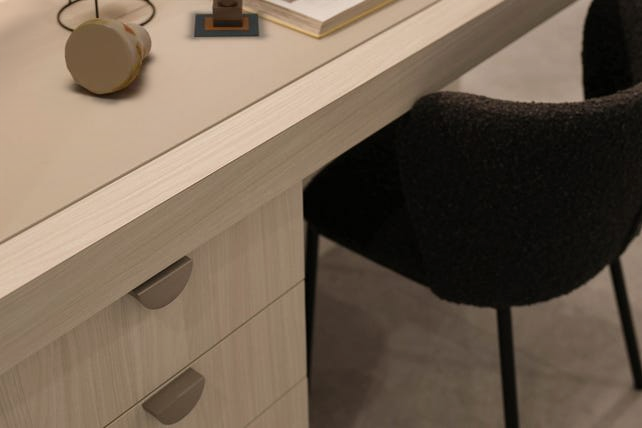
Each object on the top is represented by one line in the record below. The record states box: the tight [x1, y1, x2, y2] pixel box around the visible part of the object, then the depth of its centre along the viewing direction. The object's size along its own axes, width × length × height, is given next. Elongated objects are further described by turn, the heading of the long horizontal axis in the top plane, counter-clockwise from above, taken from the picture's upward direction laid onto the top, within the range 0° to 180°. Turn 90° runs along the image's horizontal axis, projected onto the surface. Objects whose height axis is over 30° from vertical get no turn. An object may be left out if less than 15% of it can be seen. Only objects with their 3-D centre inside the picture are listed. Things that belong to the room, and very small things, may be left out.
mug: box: [64, 17, 153, 95], centre depth 85 cm, size 8×10×10 cm
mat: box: [193, 13, 260, 38], centre depth 96 cm, size 7×5×1 cm
